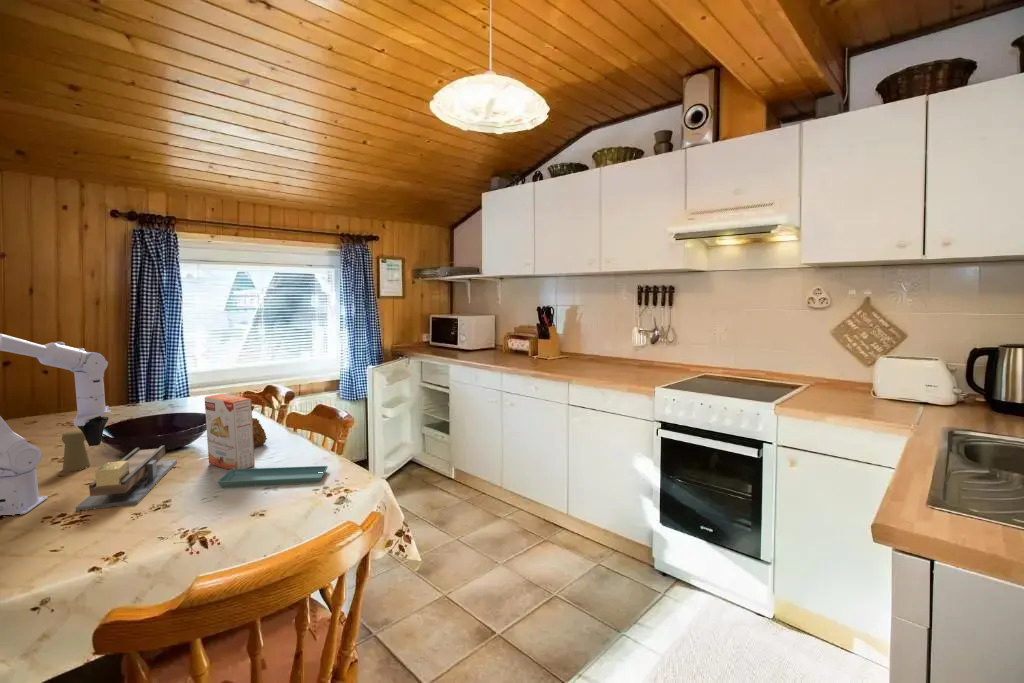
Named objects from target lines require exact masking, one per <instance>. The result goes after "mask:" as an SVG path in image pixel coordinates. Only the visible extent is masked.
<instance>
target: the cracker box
mask: <svg viewBox="0 0 1024 683" xmlns="http://www.w3.org/2000/svg"><path fill="white" fill-rule="evenodd" d="M252 406H253V405H252V399H251V398H249V397H248V398H247V397H242V396H237V395H233V394H232V395H231V394H226V393H218V394H213V395H208V396H205V397H204V408H205V409H204V410H205V411H204V412H205V423H206V438H207V439H206V441H207V456H208V464H209V465H213V466H216V467H219V468H222V469H225V470H228V471H230V470H231V469H252V468H254V467H255V450H254V448H255V447H254V444H253V425H252V418H253V411H252Z"/></svg>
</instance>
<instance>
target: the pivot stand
mask: <svg viewBox="0 0 1024 683" xmlns="http://www.w3.org/2000/svg"><path fill="white" fill-rule="evenodd" d="M177 463H178V459H166V460H159V461H158V462H156V460H153V461H150V462H149V463H148V464H147V473H146V474H145V475H143V476H142V477H141V478H140V479H139V480H138V481H137V482H136V483H135V484H134V485H133V486H132V487H131V488H130V489H129V490H128V491H127V492H126V493H118V494H109V495H100V496H91V497H90V495H89V496H87V497H86V498H85V499H84V500H83V501H81V502H80V503H78V504H77V505H76V506H75V512H79V511H78V510H83V511H87V510H86V509H91V510H95V509H94V508H100V509H103V508H102V507H108V508H115V507H114V506H117V507H124V505H126V506H132V505H133V504H134V505H138V504H139V503H140V502H141V501H142V500H143V499H144V498H145V497H144V496H146V495H148V494H149V493H150V492H151V490H152V489H153V488H154V487H155V486H156V485H157V484H158V483H159V482H160V481H161V480H162V479H163V478H164V477H163V476H164V475H165V474H166V475H167V474H168V473H169V471H171V470H172V468H173V467H174V466H175V465H176V464H177ZM166 475H165V476H166ZM162 477H163V478H162ZM161 478H162V479H161ZM160 479H161V480H160ZM159 480H160V481H159ZM158 481H159V482H158ZM157 482H158V483H157ZM156 483H157V484H156ZM155 484H156V485H155ZM154 485H155V486H154ZM153 486H154V487H153ZM152 487H153V488H152ZM150 489H151V490H150ZM143 497H144V498H143ZM142 498H143V499H142ZM141 499H142V500H141ZM140 500H141V501H140ZM139 501H140V502H139ZM112 506H113V507H112Z"/></svg>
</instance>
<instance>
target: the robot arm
mask: <svg viewBox="0 0 1024 683" xmlns="http://www.w3.org/2000/svg"><path fill="white" fill-rule="evenodd" d="M85 350H86V349H85V348H83V347H78V348H76V347H72V346H69V345H66V343H65V342H63V341H55V342H49V343H46V344H39V343H36V342H32V341H28V340H25V339H22V338H18V337H14V336H11V335H7V334H3V333H0V351H2V352H8V353H11V354H17V355H23V356H28V357H32V358H36V359H37V361H39V363H40V364H42V365H44V366H49V367H55V368H60V369H63V370H68V371H70V372H72V373H73V375H74V387H75V397H76V408H77V412H76V416H75V418H73V427H77V428H78V429H79V430H81V431H82V432H83V434H84V436H85V438H86V439H85V441H86V443H87V445H88V446H89V447H97V446H100V445H101V443H102V439H103V434H104V430H105V427H106V425H107V423H108V421H109V416H105V415H110V414H112V410H111V409H110V408H109V407H110V405H106V399H105V398H106V397H105V396H106V395H105V384H104V377H105V371H106V369H107V368H108V365H109V362H108V361H107V360H106V358H105V356H104V355H102V354H101V353H99V352H93V351H92V352H91V351H87V350H86V351H85ZM42 456H43V453H42V450H41V449H40V448H39V447H38V446H36V445H34V444H30V443H29V442H28V441H27V439H26V438H25V437H23V436H21V435H19V434H17V433H16V432H14V431H13V430H12V429H11V427H10V426H9V425H8V424H7V423H6V421H5V419H3V418H2V416H1V415H0V515H12V516H16V515H15V514H20V515H25V514H27V513H28V512H30V511H32V510H33V509H34V508H36V507H37V506H39V505H40V504H41V503H43V502H44V501H45V500H47V499H48V498H49V496H48V495H44V496H39V487H38V486H39V485H38V476H37V466H38V465H39V464H40V462H41V460H42Z"/></svg>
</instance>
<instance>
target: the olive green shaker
mask: <svg viewBox="0 0 1024 683" xmlns="http://www.w3.org/2000/svg"><path fill="white" fill-rule="evenodd" d="M61 441H62V443H63V444H64V448H63V449H64V450H63V461H62V462H63V463H62V471H63V472H64V471H65V472H64V473H68V472H69V473H71V472H70V471H73V472H78V471H77V470H79V471H81V470H80V469H83V470H85V469H84V468H86V467H88V466H90V465H91V463H90V462H91V461H90V458H89V456H88V450H87V448H86V444H85V441H86V438H85V436H84V434H83V432H82V431H81V430H80V429H79V430H71V431H68V432H65V433H63V434H62V436H61ZM90 467H91V466H90ZM88 468H89V467H88ZM86 469H87V468H86Z"/></svg>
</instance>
